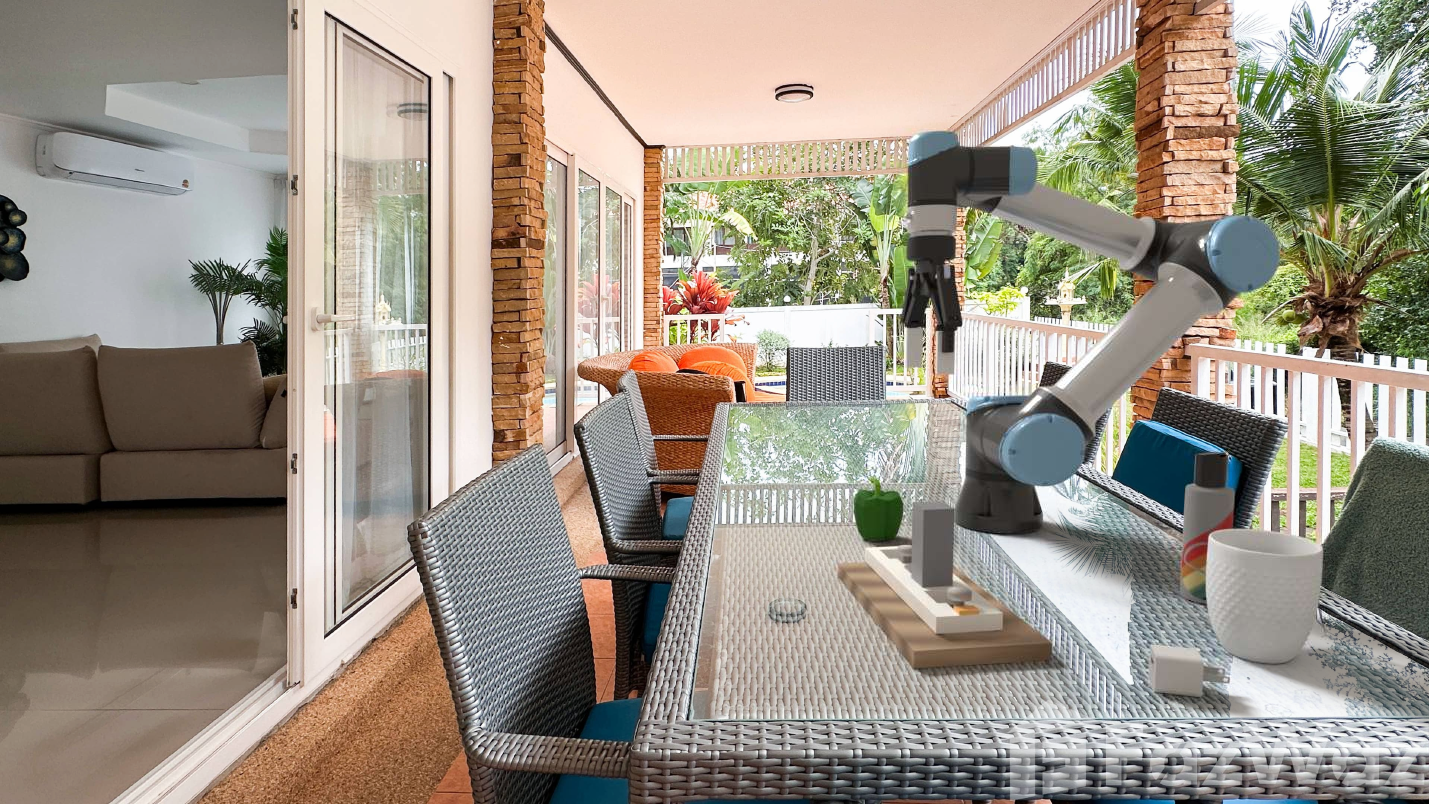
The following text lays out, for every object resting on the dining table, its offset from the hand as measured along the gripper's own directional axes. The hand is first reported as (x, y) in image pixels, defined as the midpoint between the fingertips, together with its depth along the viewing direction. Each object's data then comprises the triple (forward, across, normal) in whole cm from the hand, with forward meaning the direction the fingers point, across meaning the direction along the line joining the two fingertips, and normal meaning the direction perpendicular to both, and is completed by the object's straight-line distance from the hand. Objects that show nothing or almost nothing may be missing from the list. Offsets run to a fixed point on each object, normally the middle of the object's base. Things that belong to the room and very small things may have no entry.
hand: (928, 370), depth 139 cm
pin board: (+29, +29, -10) cm, 42 cm away
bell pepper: (+29, -6, -6) cm, 30 cm away
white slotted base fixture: (+27, +27, -10) cm, 39 cm away
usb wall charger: (+29, +54, +8) cm, 62 cm away
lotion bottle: (+29, +29, +28) cm, 50 cm away
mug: (+29, +46, +23) cm, 59 cm away
